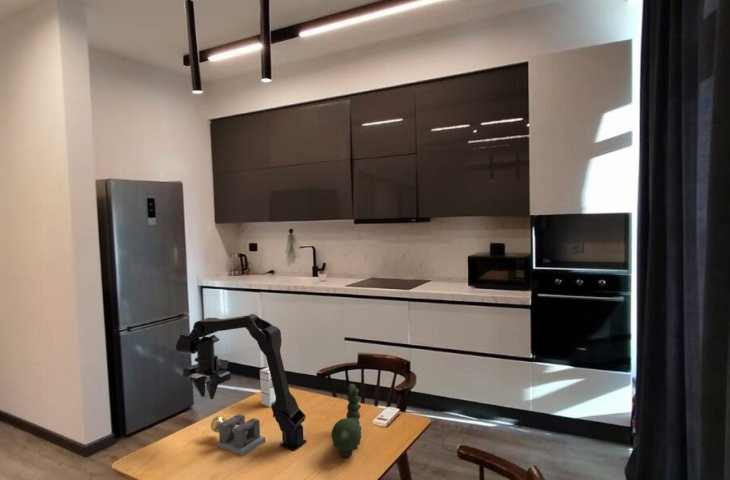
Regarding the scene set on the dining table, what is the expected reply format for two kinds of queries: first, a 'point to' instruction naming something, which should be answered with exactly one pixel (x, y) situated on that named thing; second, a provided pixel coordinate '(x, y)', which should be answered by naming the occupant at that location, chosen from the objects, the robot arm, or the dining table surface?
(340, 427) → the toy figurine
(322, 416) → the dining table surface
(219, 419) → the shaft
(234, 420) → the bearing bracket
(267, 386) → the syrup box
